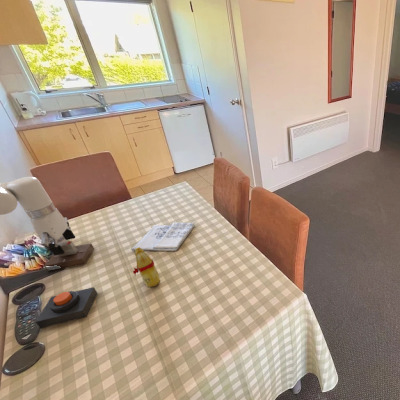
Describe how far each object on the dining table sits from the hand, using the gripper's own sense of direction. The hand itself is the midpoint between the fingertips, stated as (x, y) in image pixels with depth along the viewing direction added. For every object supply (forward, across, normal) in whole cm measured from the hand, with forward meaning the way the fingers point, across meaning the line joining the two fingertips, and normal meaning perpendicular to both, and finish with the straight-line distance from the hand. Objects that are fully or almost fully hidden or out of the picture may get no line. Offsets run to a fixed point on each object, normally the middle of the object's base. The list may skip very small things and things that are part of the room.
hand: (65, 246), depth 105 cm
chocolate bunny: (+7, +23, +32) cm, 40 cm away
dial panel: (+7, 0, 0) cm, 7 cm away
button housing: (+7, +29, +10) cm, 32 cm away
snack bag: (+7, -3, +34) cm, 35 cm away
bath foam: (+7, -14, -10) cm, 19 cm away
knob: (+4, 0, 0) cm, 4 cm away
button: (+2, +29, +10) cm, 31 cm away
